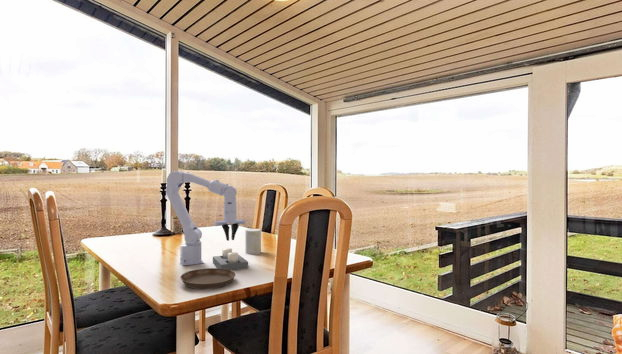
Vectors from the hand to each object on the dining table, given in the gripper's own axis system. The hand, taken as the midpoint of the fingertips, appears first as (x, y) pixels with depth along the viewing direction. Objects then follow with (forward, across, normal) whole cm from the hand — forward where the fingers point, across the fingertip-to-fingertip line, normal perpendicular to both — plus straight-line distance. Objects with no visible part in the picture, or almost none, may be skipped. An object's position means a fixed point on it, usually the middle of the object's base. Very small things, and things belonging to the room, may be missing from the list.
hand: (230, 240), depth 177 cm
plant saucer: (+11, -16, -28) cm, 34 cm away
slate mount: (+10, -2, -7) cm, 13 cm away
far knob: (+8, -2, -2) cm, 8 cm away
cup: (+11, +16, +14) cm, 24 cm away
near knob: (+8, -2, -12) cm, 14 cm away
